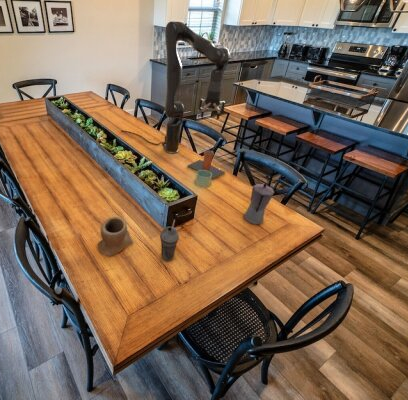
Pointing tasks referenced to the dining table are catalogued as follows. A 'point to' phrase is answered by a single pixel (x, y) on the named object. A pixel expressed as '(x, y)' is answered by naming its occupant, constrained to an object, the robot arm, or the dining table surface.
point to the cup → (203, 178)
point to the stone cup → (114, 236)
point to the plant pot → (207, 160)
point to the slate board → (213, 170)
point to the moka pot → (258, 203)
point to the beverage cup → (169, 242)
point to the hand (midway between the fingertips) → (209, 118)
